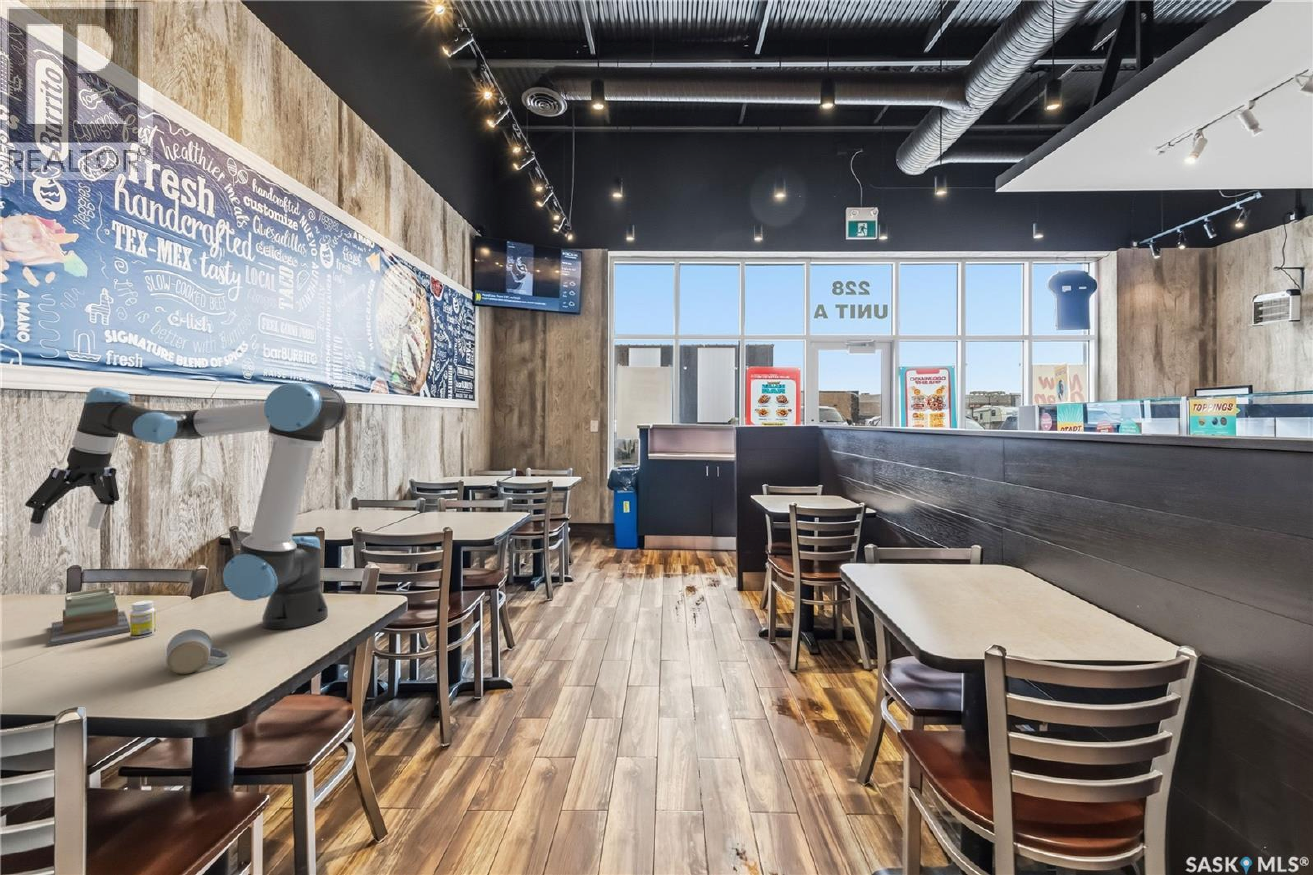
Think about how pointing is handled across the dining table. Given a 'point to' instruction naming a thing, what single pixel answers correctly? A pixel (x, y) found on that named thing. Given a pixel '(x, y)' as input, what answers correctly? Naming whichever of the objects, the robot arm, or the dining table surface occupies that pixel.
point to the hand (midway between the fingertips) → (65, 531)
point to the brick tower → (89, 617)
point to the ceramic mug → (192, 652)
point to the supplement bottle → (142, 619)
